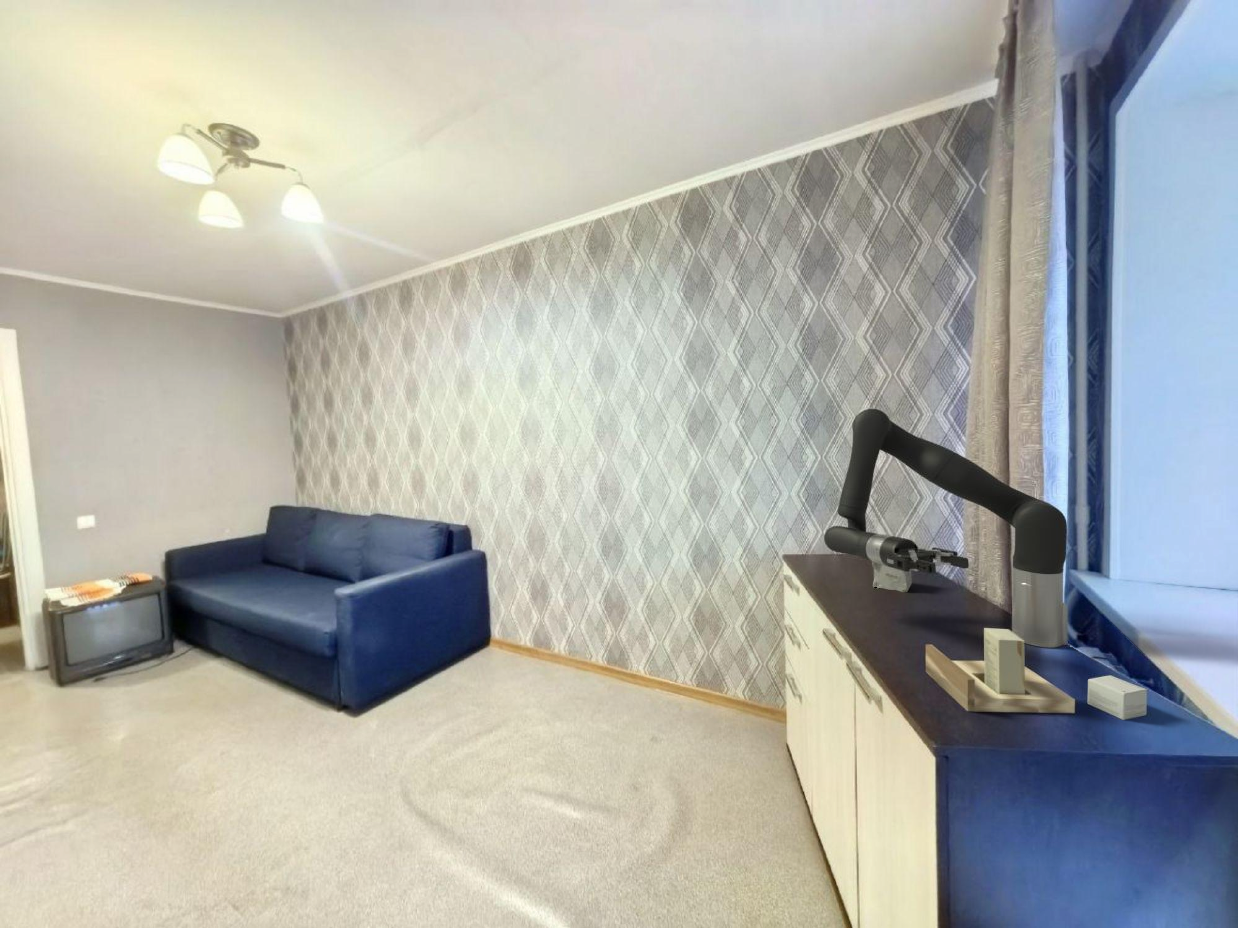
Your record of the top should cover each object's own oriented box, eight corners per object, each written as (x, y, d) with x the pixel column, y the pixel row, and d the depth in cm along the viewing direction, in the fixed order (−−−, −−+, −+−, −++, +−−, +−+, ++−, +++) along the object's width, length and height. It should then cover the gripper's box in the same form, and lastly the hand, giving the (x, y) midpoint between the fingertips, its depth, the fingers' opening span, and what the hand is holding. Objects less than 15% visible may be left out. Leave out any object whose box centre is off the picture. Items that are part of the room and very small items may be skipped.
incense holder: (871, 588, 161) (871, 557, 160) (879, 582, 167) (878, 551, 166) (905, 594, 154) (905, 561, 153) (912, 587, 160) (912, 555, 159)
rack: (1016, 672, 104) (1017, 644, 104) (1074, 712, 89) (1075, 680, 89) (925, 671, 106) (925, 644, 106) (967, 711, 91) (967, 679, 91)
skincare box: (1026, 706, 92) (1026, 641, 91) (998, 704, 93) (999, 640, 92) (1008, 688, 98) (1009, 627, 97) (983, 686, 99) (983, 626, 98)
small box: (1147, 715, 88) (1148, 688, 88) (1123, 721, 87) (1123, 693, 86) (1109, 699, 93) (1110, 673, 93) (1086, 704, 92) (1086, 678, 92)
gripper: (865, 539, 119) (922, 552, 103) (914, 532, 122) (977, 544, 106) (867, 570, 119) (924, 588, 103) (916, 562, 122) (978, 579, 107)
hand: (951, 566), depth 105 cm, fingers open, 8 cm apart
